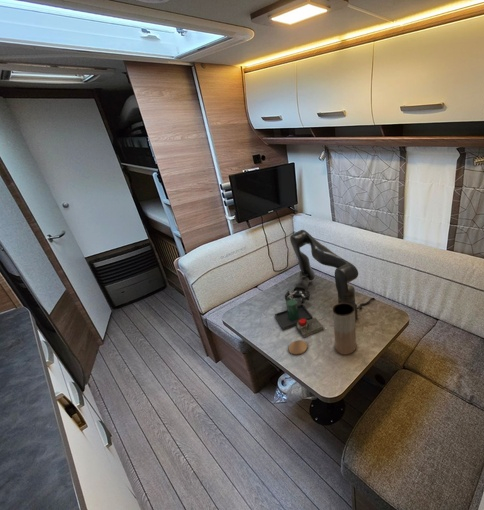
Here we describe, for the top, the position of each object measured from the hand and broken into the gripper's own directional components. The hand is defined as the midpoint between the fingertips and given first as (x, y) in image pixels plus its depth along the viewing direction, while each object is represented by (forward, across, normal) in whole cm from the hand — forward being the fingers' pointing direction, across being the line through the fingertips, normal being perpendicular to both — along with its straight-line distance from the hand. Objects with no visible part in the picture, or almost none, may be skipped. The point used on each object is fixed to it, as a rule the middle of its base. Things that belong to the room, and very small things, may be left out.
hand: (294, 302), depth 160 cm
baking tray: (+5, 0, +7) cm, 9 cm away
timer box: (+14, +12, +7) cm, 19 cm away
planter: (+26, +32, +7) cm, 42 cm away
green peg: (+5, 0, +6) cm, 8 cm away
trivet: (+28, +8, +7) cm, 31 cm away
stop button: (+14, +8, +3) cm, 16 cm away
